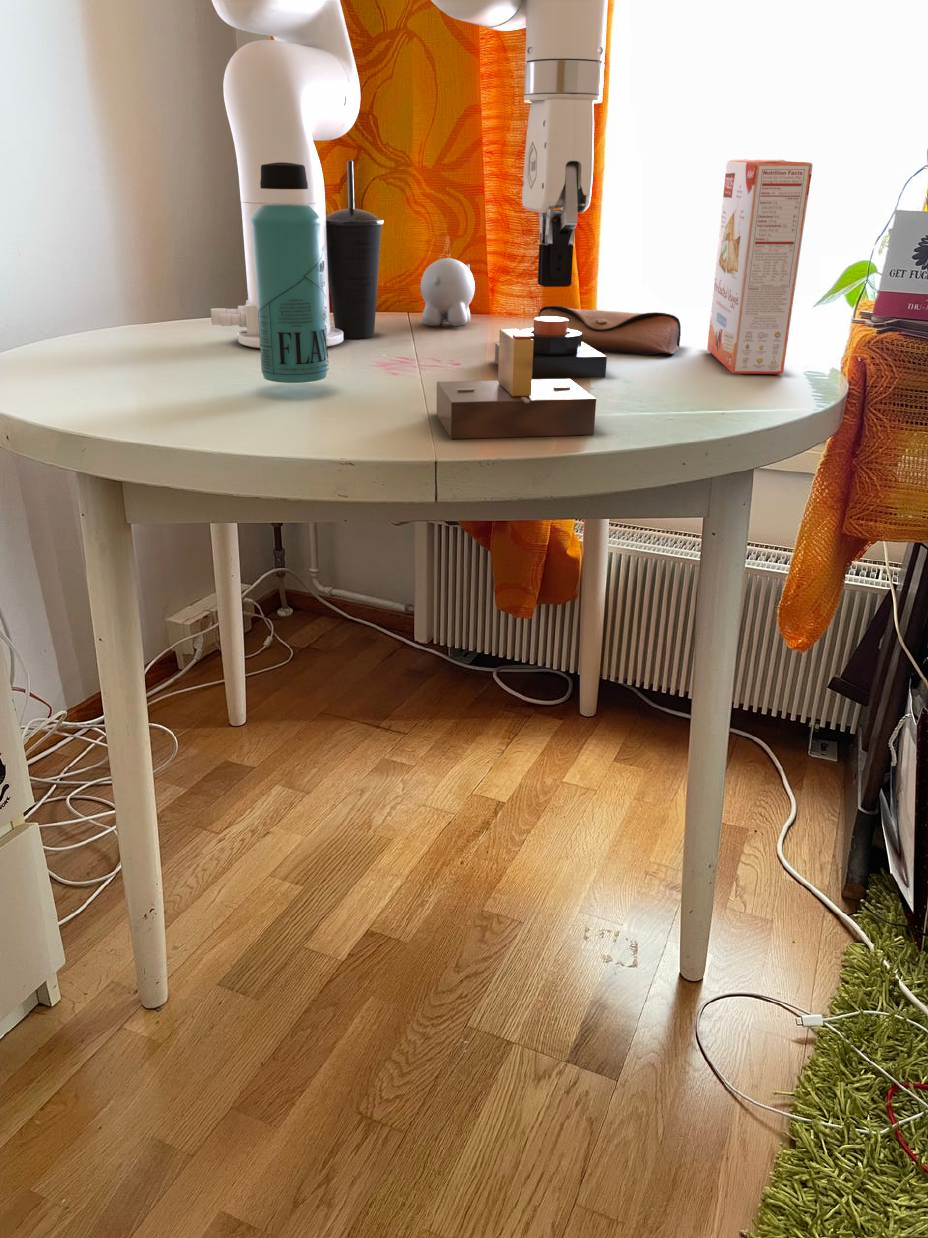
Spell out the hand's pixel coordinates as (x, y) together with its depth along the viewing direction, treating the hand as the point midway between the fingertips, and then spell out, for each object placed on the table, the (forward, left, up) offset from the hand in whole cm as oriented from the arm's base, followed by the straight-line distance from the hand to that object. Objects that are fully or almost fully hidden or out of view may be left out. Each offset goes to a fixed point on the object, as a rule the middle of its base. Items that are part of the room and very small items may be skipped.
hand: (554, 285), depth 103 cm
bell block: (0, 0, -9) cm, 9 cm away
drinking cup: (-19, +24, -9) cm, 32 cm away
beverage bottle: (-27, -8, -9) cm, 30 cm away
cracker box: (+23, +2, -9) cm, 25 cm away
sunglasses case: (+10, +13, -9) cm, 19 cm away
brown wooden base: (-9, -23, -9) cm, 26 cm away
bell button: (0, 0, -5) cm, 5 cm away
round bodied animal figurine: (-5, +34, -9) cm, 36 cm away
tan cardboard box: (-9, -23, -6) cm, 25 cm away
